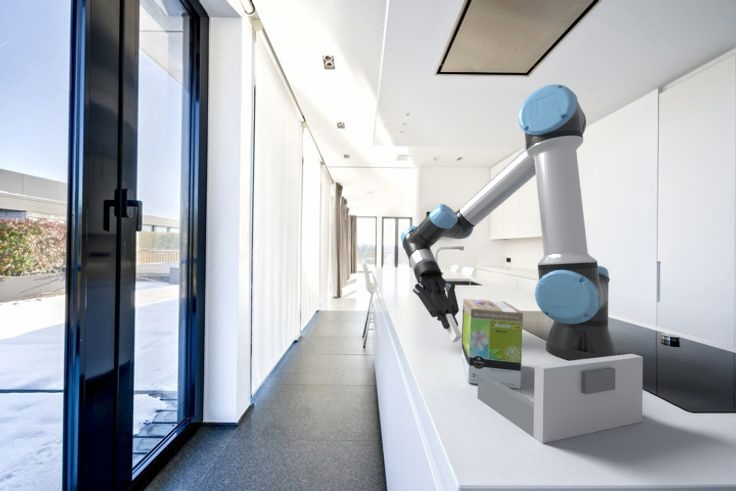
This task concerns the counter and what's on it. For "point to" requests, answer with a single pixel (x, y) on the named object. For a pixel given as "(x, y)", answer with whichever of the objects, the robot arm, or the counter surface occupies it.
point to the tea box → (492, 341)
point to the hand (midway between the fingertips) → (456, 339)
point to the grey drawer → (572, 397)
